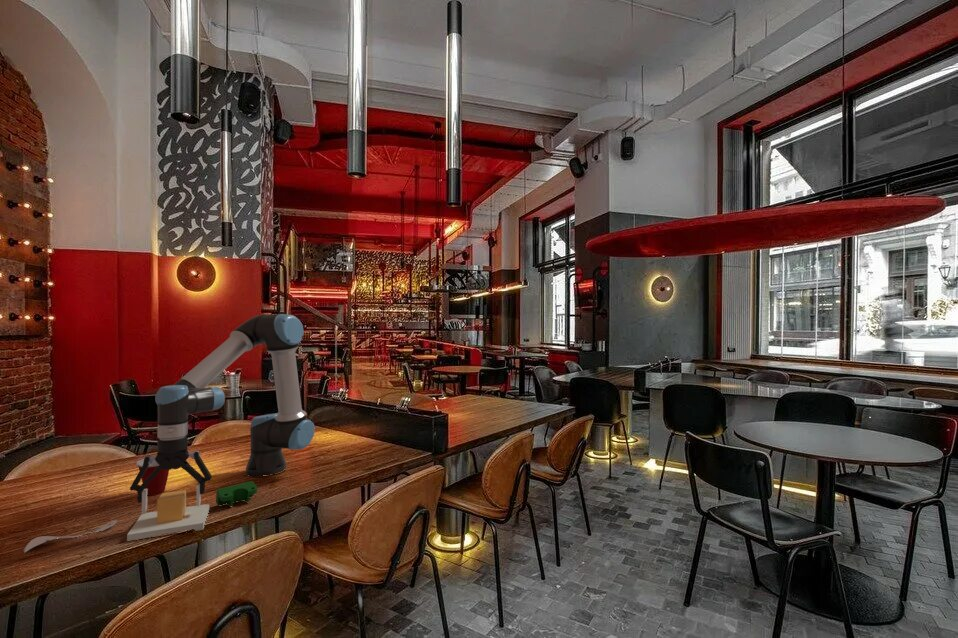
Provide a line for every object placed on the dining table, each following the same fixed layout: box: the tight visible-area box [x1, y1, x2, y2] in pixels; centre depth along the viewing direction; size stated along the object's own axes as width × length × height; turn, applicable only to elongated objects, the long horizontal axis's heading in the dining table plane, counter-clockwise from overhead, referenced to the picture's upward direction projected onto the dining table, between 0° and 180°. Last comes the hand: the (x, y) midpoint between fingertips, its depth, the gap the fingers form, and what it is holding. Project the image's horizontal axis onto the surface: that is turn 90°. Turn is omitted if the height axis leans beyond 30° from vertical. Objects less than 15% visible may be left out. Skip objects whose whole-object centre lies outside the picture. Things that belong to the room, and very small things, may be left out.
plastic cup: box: [136, 458, 170, 497], centre depth 162 cm, size 11×11×12 cm
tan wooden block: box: [156, 489, 187, 524], centre depth 136 cm, size 6×6×7 cm
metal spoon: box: [22, 519, 118, 554], centre depth 127 cm, size 20×4×5 cm
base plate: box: [126, 503, 211, 542], centre depth 136 cm, size 18×16×8 cm
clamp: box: [215, 480, 258, 507], centre depth 152 cm, size 12×6×9 cm, turn 131°
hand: (172, 508), depth 136 cm, fingers open, 13 cm apart
